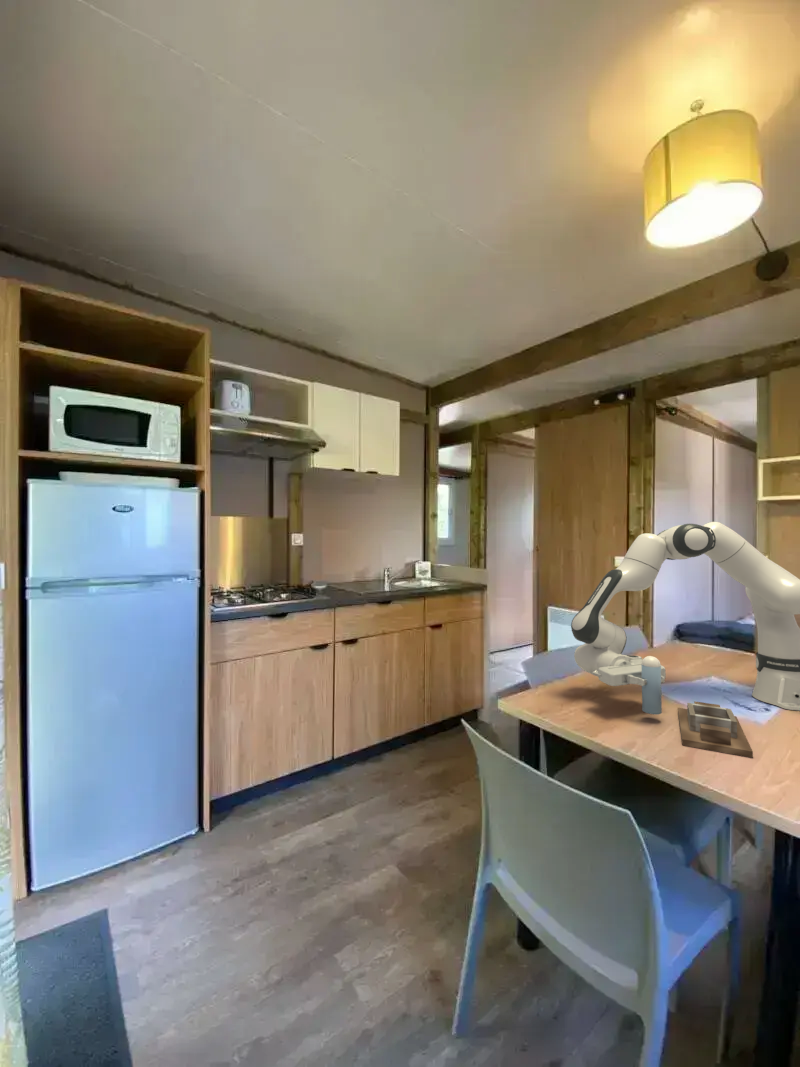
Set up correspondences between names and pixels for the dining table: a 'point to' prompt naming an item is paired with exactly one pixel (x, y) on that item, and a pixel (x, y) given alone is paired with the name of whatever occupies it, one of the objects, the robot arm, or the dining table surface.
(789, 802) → the dining table surface
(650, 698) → the dome-topped blue cylinder
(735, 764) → the dining table surface
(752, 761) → the dining table surface
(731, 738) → the cradle
